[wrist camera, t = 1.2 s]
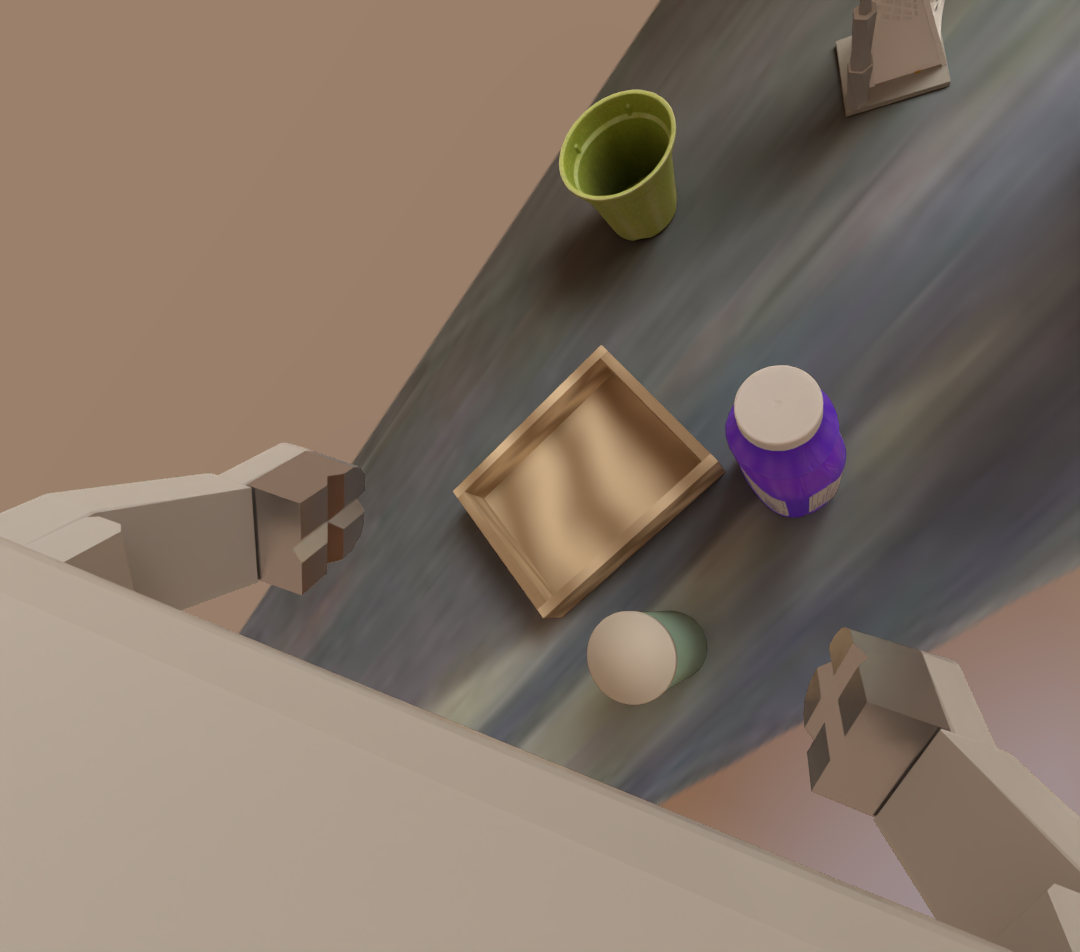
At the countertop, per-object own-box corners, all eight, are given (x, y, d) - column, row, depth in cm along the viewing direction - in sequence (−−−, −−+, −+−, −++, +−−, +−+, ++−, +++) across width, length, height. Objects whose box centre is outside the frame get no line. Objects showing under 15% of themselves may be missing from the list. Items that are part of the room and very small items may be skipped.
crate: (615, 362, 52) (601, 344, 48) (725, 472, 46) (718, 461, 42) (476, 498, 55) (452, 491, 51) (562, 617, 49) (543, 618, 45)
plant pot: (574, 228, 56) (536, 167, 48) (642, 147, 55) (614, 71, 47) (644, 277, 52) (614, 220, 44) (719, 191, 51) (702, 116, 43)
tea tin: (675, 595, 46) (633, 592, 35) (723, 651, 43) (694, 666, 33) (626, 638, 47) (570, 648, 36) (670, 695, 44) (624, 724, 34)
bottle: (856, 491, 42) (882, 424, 26) (785, 535, 43) (770, 495, 28) (792, 413, 45) (781, 311, 29) (727, 456, 46) (684, 381, 31)
